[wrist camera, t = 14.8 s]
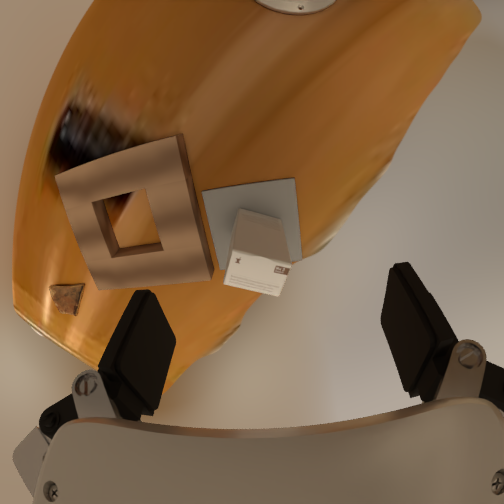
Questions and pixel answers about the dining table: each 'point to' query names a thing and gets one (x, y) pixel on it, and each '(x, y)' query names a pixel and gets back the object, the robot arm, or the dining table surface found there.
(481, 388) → the robot arm
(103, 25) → the dining table surface
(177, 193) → the walnut holder
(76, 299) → the shard
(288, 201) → the grey mat
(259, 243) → the skincare box
